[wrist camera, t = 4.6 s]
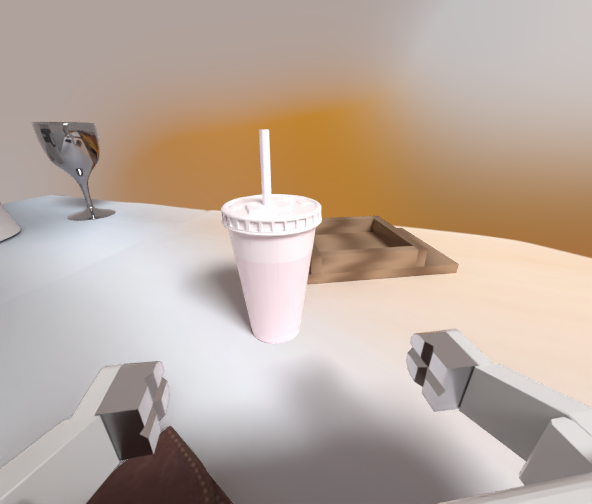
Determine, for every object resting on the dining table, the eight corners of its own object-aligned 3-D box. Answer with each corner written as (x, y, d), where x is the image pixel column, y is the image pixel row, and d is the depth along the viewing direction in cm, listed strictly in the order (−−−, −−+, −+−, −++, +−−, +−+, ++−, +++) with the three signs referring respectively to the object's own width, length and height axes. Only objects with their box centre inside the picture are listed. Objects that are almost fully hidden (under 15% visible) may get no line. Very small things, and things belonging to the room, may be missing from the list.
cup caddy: (270, 286, 27) (269, 259, 26) (264, 241, 38) (263, 220, 36) (456, 272, 30) (463, 246, 28) (400, 234, 40) (404, 214, 39)
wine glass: (126, 208, 54) (104, 123, 47) (103, 220, 46) (74, 122, 40) (83, 209, 53) (56, 123, 47) (53, 221, 46) (16, 121, 40)
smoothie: (215, 338, 20) (185, 129, 14) (264, 296, 25) (256, 129, 20) (292, 371, 17) (291, 129, 12) (330, 316, 23) (341, 129, 17)
